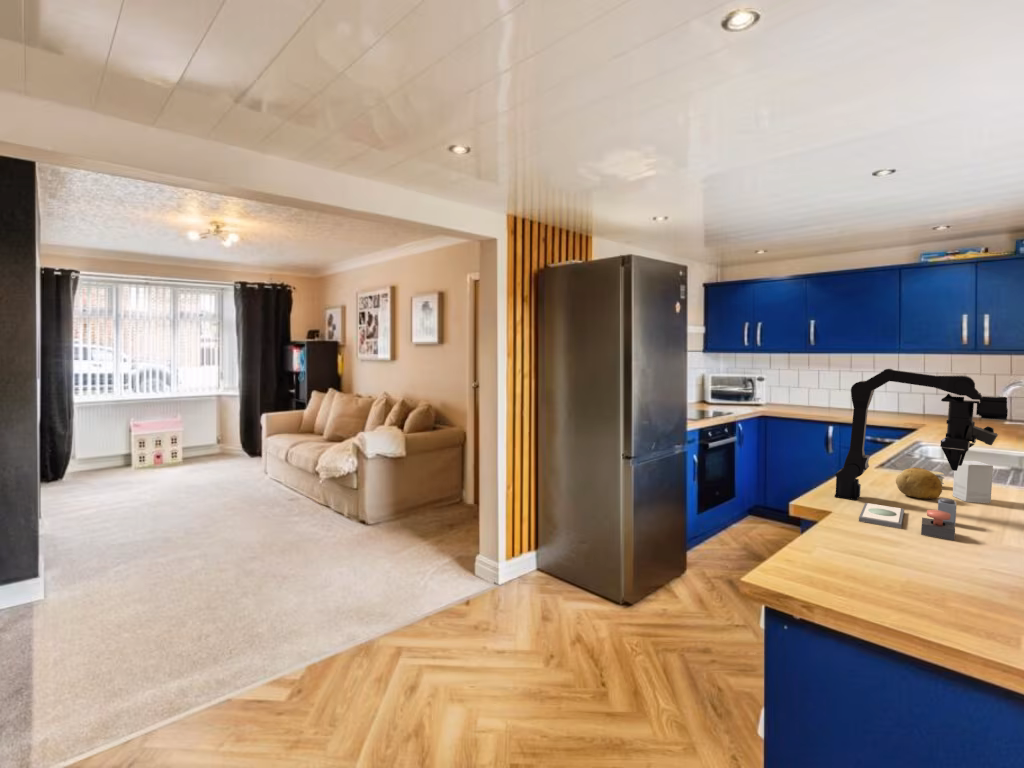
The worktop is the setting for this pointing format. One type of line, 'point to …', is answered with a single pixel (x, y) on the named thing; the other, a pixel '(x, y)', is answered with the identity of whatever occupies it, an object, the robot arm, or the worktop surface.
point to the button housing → (938, 529)
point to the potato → (919, 483)
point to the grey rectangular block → (948, 508)
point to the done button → (938, 516)
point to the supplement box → (973, 482)
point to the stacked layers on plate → (938, 476)
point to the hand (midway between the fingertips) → (956, 468)
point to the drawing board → (882, 515)
